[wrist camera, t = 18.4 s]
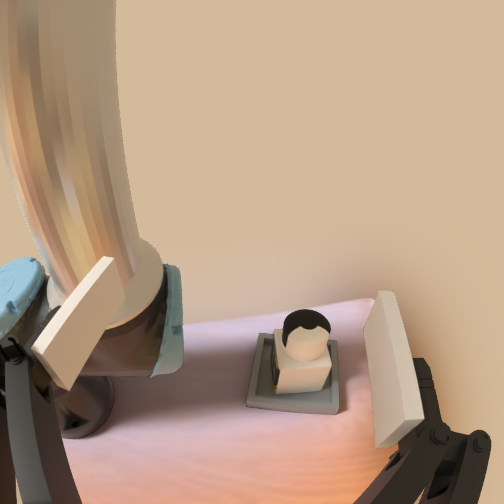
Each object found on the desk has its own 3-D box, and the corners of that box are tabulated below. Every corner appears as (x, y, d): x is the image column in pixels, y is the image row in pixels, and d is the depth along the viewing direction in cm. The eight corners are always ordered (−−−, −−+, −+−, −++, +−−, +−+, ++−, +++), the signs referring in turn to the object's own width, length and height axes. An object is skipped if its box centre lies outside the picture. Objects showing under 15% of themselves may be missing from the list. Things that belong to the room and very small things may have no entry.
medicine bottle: (269, 357, 45) (276, 303, 39) (313, 354, 46) (328, 301, 39) (274, 395, 40) (283, 345, 33) (321, 391, 40) (342, 342, 33)
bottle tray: (246, 406, 38) (246, 400, 37) (258, 340, 49) (259, 332, 48) (335, 414, 37) (339, 409, 36) (334, 348, 48) (336, 340, 47)
